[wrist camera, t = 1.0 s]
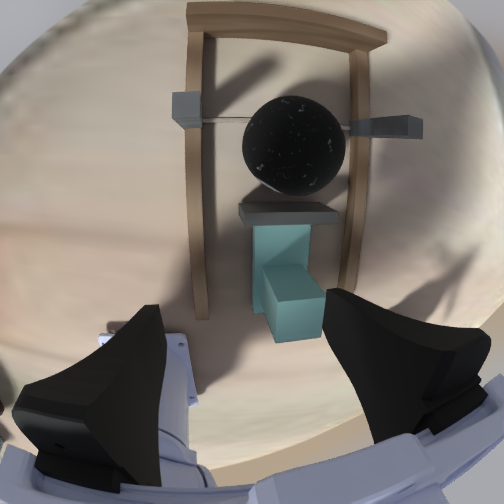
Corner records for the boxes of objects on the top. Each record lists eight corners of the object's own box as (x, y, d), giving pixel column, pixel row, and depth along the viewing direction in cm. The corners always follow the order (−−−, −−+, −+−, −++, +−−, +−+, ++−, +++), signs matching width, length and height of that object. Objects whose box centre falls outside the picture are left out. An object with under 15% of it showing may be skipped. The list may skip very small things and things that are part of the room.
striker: (310, 301, 23) (339, 345, 17) (239, 308, 22) (251, 357, 17) (319, 202, 20) (360, 223, 14) (238, 203, 19) (252, 225, 14)
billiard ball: (335, 135, 19) (380, 136, 13) (292, 201, 20) (324, 225, 15) (268, 88, 17) (293, 66, 11) (221, 158, 18) (227, 164, 13)
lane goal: (346, 298, 24) (385, 345, 17) (195, 311, 22) (193, 372, 15) (360, 46, 16) (412, 20, 10) (188, 27, 14) (182, -23, 8)
